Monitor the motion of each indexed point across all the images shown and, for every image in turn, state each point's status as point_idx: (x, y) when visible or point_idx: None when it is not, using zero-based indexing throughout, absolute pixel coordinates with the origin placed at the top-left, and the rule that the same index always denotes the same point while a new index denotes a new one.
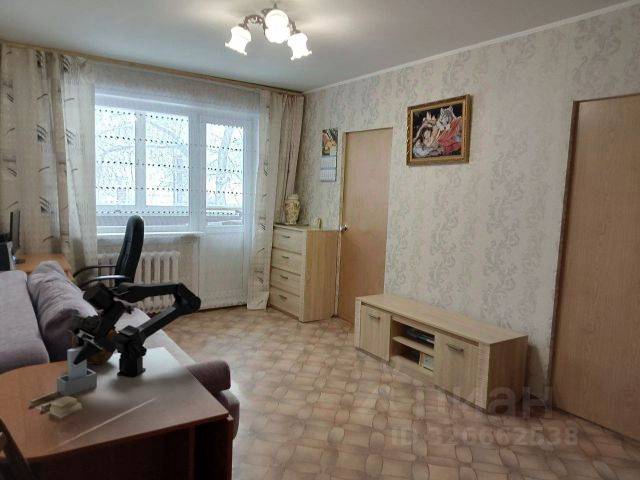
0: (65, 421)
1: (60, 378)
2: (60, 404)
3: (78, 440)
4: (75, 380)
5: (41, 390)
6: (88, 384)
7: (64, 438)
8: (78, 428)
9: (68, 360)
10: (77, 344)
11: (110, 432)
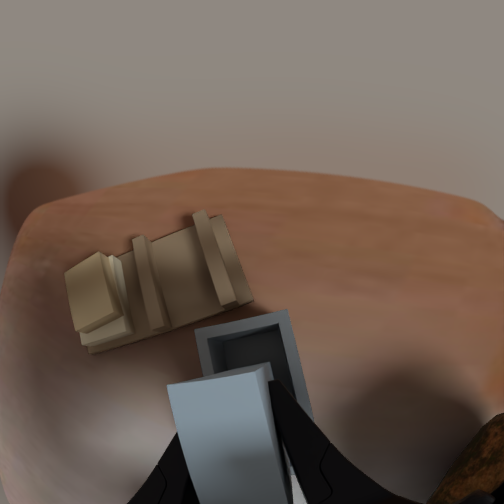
0: None
1: (266, 324)
2: (74, 274)
3: (13, 287)
4: None
5: (342, 273)
6: None
7: (28, 267)
8: (37, 303)
9: (246, 369)
10: (325, 502)
11: (3, 346)
